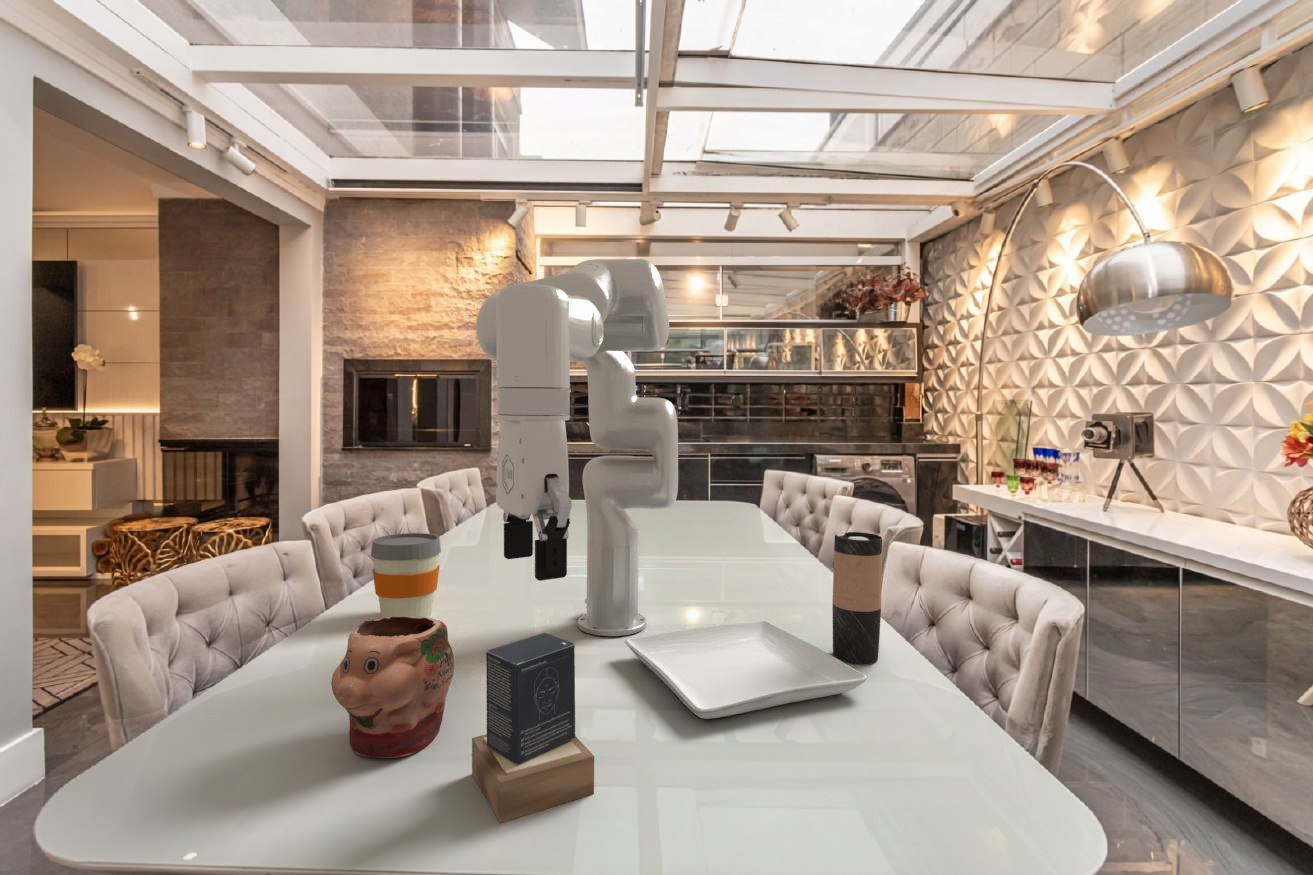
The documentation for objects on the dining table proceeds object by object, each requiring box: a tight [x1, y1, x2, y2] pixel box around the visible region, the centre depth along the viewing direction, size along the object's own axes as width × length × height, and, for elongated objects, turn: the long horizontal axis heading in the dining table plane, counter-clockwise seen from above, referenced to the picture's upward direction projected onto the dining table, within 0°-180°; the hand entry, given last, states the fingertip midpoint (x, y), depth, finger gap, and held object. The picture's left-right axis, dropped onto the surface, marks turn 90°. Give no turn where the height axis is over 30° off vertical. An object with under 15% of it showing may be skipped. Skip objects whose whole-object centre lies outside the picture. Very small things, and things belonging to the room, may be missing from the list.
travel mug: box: [832, 531, 883, 666], centre depth 108 cm, size 8×8×20 cm
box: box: [485, 632, 576, 765], centre depth 70 cm, size 8×6×11 cm
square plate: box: [624, 620, 868, 720], centre depth 100 cm, size 27×27×4 cm
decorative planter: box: [331, 616, 455, 759], centre depth 81 cm, size 20×12×14 cm, turn 173°
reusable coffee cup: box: [370, 532, 442, 619], centre depth 126 cm, size 13×12×15 cm
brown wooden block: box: [471, 733, 595, 824], centre depth 70 cm, size 10×10×4 cm
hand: (533, 567), depth 70 cm, fingers open, 9 cm apart
